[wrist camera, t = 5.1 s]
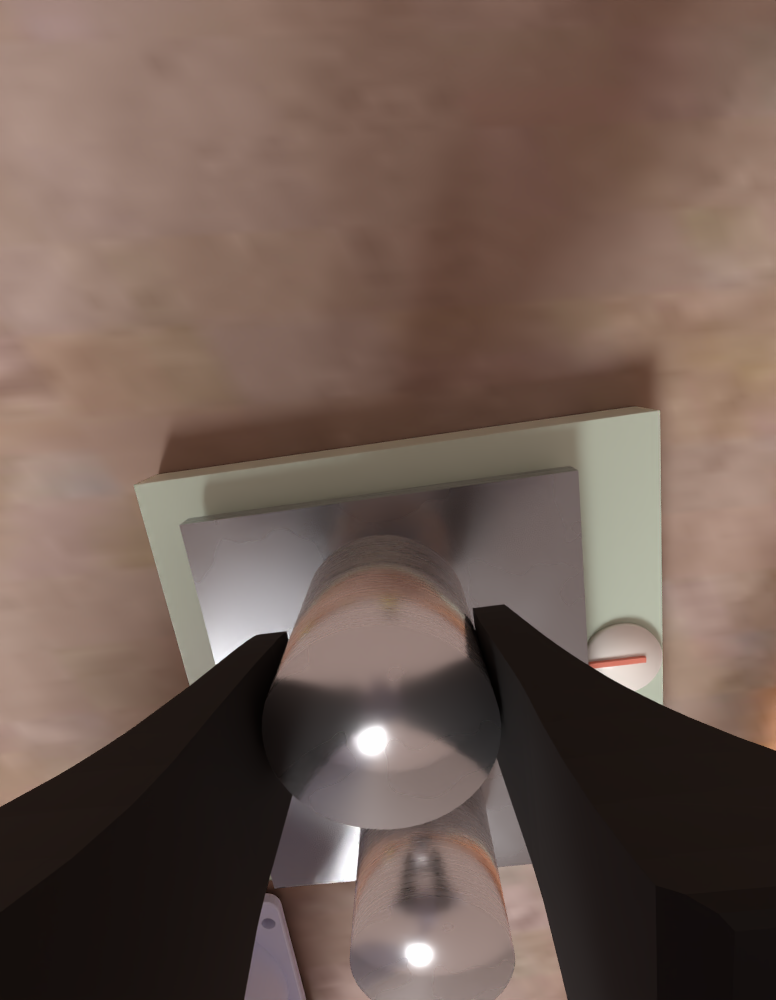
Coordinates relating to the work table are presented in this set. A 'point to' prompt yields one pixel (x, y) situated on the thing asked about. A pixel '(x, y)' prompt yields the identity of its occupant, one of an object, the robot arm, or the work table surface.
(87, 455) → the work table surface
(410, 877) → the cylinder
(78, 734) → the work table surface
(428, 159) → the work table surface
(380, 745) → the cylinder
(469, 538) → the scale platform
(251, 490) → the scale
